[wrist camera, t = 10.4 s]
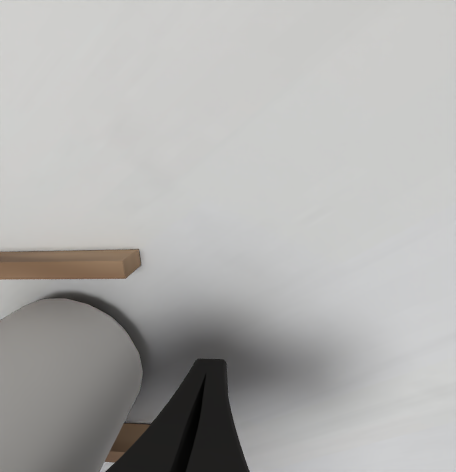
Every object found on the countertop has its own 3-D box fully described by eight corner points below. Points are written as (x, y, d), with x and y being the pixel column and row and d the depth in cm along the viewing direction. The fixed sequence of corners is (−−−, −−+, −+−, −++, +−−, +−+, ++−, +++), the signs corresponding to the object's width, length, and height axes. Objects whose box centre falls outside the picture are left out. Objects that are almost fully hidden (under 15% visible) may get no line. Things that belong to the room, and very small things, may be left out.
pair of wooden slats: (165, 435, 14) (156, 465, 13) (-37, 423, 16) (-66, 449, 14) (138, 249, 11) (122, 260, 10) (-108, 254, 13) (-154, 264, 11)
